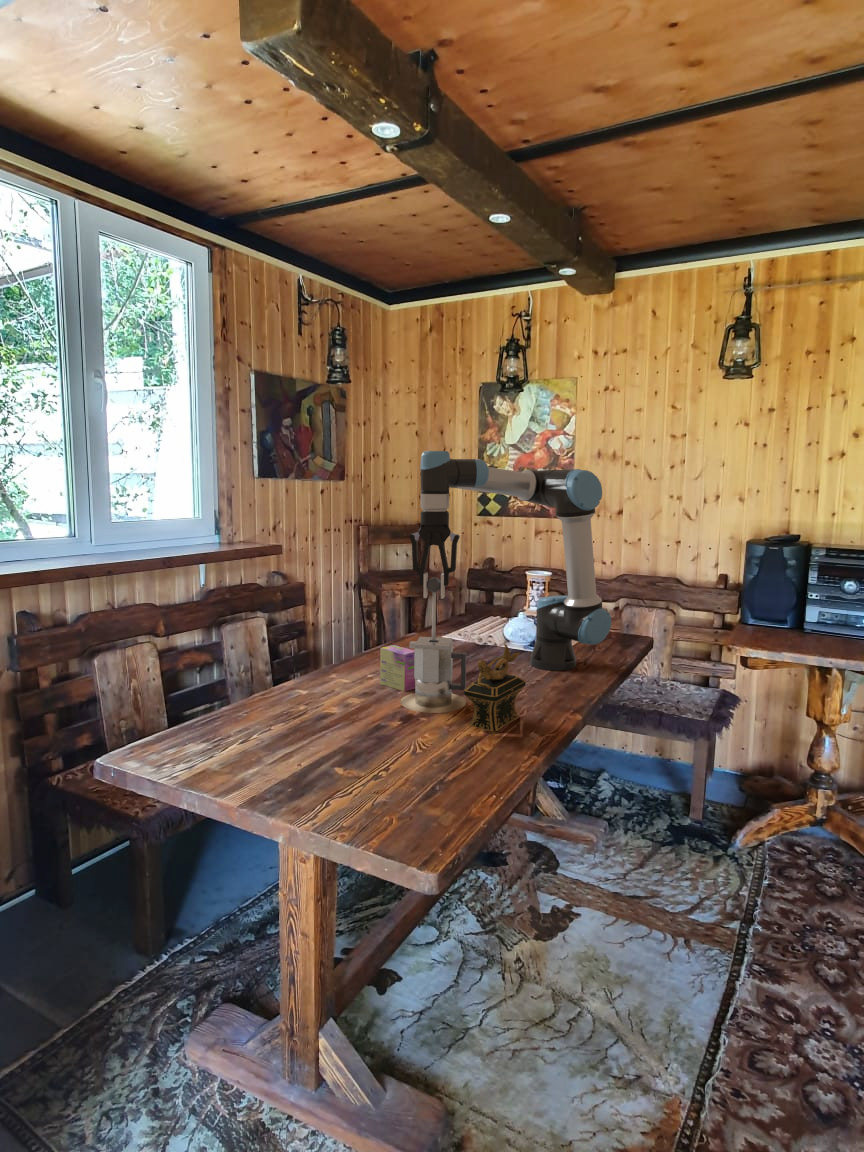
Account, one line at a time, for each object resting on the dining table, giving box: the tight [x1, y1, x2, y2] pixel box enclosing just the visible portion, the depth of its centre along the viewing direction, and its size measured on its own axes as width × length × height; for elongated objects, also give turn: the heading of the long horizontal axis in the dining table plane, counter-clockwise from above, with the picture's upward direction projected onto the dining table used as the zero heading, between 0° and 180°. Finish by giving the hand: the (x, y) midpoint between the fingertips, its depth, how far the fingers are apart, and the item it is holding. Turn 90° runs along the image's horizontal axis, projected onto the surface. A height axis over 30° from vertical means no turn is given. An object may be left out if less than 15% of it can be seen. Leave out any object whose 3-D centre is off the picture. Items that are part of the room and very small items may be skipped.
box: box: [379, 644, 415, 692], centre depth 206 cm, size 10×6×12 cm, turn 47°
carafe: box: [408, 636, 467, 708], centre depth 191 cm, size 15×10×17 cm, turn 82°
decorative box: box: [463, 642, 526, 735], centre depth 178 cm, size 20×10×20 cm, turn 146°
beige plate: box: [400, 692, 467, 714], centre depth 192 cm, size 18×18×1 cm
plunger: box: [427, 577, 441, 640], centre depth 188 cm, size 4×4×17 cm
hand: (434, 597), depth 188 cm, fingers closed on plunger, 4 cm apart
